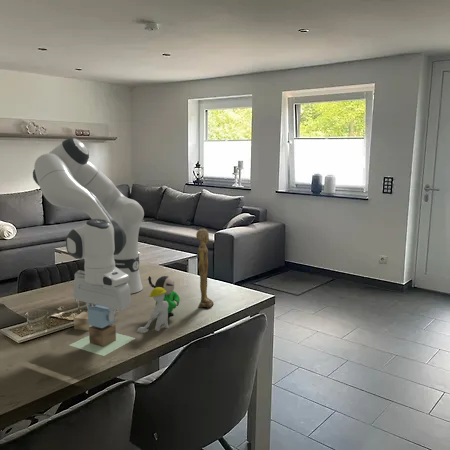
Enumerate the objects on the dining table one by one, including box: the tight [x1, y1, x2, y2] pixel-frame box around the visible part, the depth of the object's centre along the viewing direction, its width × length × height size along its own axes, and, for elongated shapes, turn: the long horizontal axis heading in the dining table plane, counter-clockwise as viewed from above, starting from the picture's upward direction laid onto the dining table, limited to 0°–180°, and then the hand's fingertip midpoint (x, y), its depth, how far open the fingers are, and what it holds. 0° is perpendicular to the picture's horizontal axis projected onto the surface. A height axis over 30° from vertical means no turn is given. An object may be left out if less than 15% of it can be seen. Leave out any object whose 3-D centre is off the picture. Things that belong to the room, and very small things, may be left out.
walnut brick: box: [88, 323, 117, 347], centre depth 139 cm, size 6×6×5 cm
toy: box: [147, 275, 181, 317], centre depth 162 cm, size 10×11×15 cm
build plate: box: [68, 332, 136, 357], centre depth 140 cm, size 14×14×1 cm
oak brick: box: [73, 311, 92, 332], centre depth 151 cm, size 6×6×5 cm
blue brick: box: [87, 304, 116, 328], centre depth 138 cm, size 6×6×5 cm
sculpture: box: [195, 228, 215, 308], centre depth 172 cm, size 7×6×30 cm
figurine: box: [136, 287, 170, 334], centre depth 149 cm, size 10×9×15 cm
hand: (101, 318), depth 138 cm, fingers closed on blue brick, 5 cm apart
